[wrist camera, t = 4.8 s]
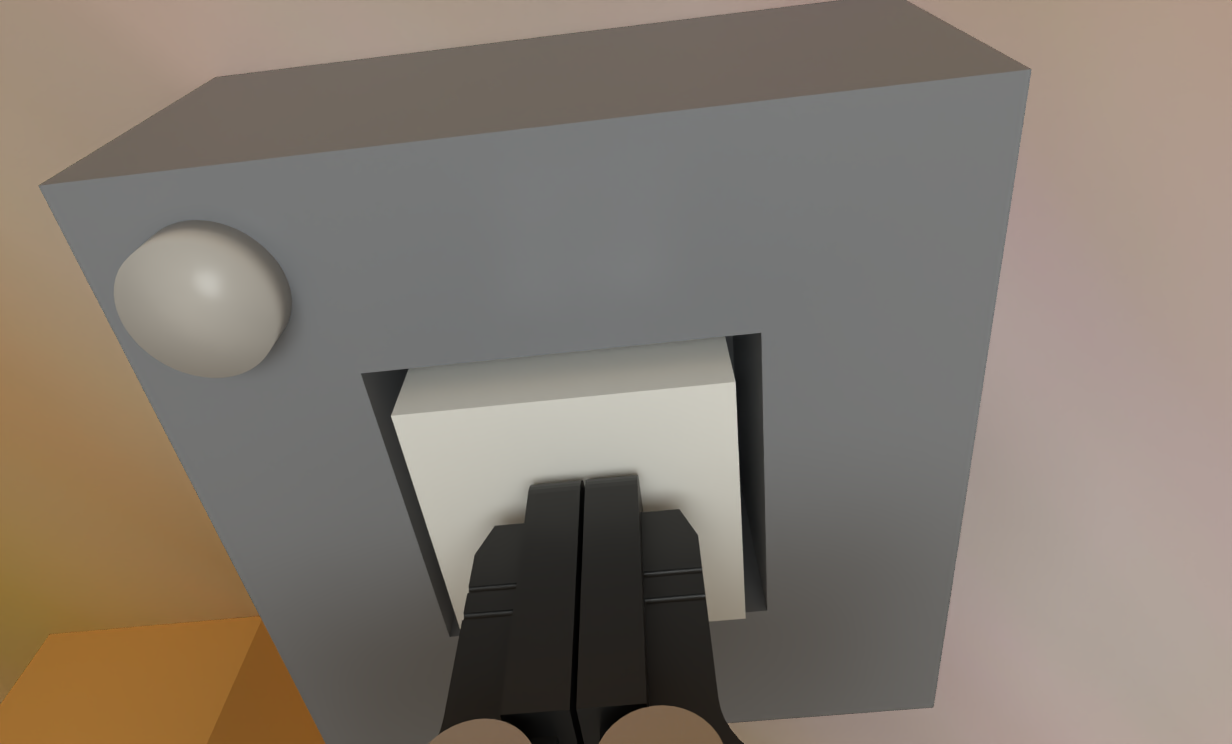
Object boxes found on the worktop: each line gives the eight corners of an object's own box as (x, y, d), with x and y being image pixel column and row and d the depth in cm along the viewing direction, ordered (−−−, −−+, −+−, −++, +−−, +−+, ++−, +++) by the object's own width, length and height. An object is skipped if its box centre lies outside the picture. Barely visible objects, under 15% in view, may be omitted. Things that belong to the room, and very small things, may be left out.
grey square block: (390, 555, 20) (321, 784, 15) (214, 77, 14) (6, 205, 9) (861, 514, 19) (944, 738, 14) (894, -7, 13) (1057, 83, 8)
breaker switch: (487, 510, 15) (464, 641, 13) (432, 304, 13) (390, 416, 11) (722, 489, 15) (745, 618, 13) (710, 274, 13) (735, 381, 10)
